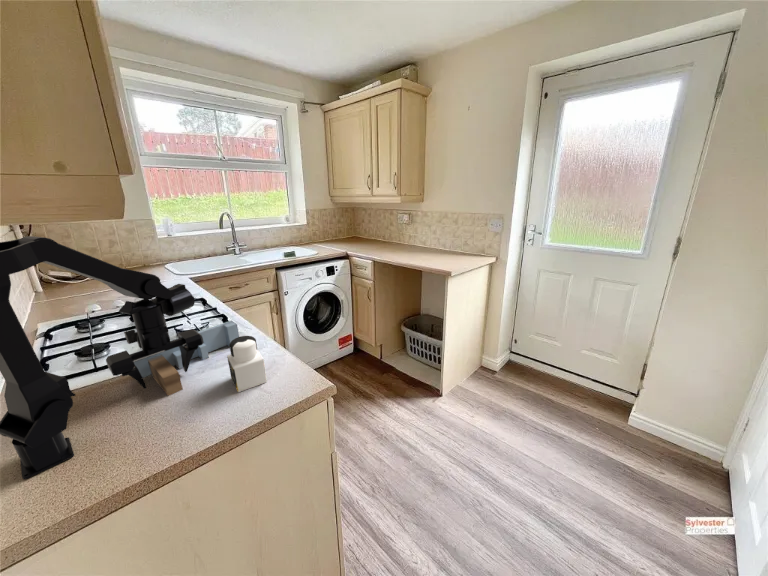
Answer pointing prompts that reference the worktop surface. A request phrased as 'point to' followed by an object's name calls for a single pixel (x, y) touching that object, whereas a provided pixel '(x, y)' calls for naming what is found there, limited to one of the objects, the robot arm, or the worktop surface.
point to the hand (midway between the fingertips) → (166, 379)
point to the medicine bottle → (246, 363)
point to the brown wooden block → (165, 375)
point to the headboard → (211, 339)
